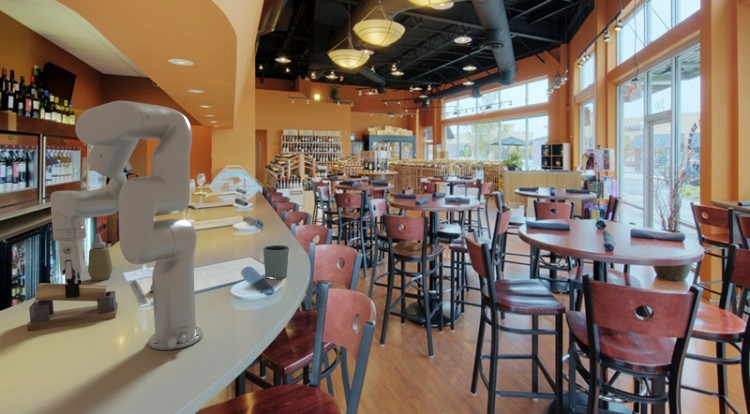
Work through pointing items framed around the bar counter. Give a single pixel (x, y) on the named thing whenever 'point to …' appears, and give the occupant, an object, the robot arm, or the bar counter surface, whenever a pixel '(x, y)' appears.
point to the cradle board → (71, 313)
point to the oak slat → (58, 293)
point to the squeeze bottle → (99, 260)
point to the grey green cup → (276, 261)
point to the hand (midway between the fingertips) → (74, 294)
